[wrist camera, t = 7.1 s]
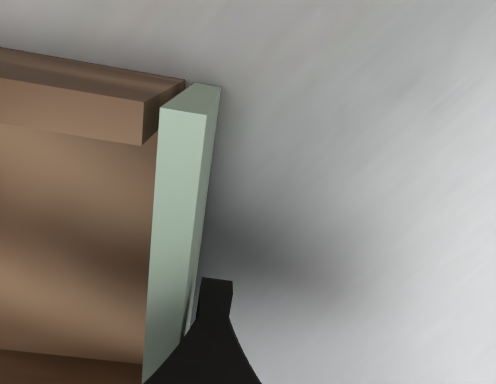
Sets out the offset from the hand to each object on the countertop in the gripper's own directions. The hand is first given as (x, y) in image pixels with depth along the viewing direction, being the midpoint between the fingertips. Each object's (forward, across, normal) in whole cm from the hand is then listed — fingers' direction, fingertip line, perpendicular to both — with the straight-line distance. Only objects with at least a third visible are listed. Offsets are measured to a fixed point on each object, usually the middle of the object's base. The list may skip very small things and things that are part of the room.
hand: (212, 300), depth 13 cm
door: (+3, +1, 0) cm, 3 cm away
